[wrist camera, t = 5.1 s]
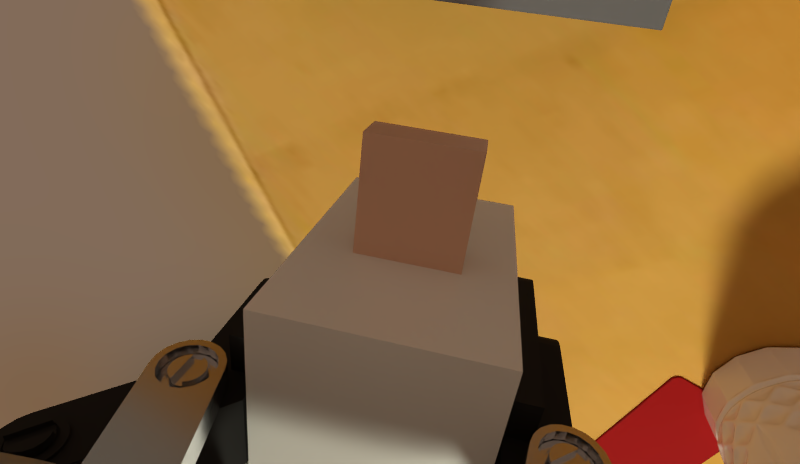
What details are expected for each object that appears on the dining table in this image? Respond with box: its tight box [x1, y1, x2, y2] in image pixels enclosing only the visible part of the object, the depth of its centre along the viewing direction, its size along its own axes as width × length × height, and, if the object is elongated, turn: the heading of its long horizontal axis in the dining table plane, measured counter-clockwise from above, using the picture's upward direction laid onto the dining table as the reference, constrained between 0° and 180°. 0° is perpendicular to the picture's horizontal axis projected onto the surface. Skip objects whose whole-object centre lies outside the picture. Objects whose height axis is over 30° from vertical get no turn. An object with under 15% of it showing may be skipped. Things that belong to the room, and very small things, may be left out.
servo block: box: [243, 121, 523, 464], centre depth 10 cm, size 4×10×6 cm, turn 173°
